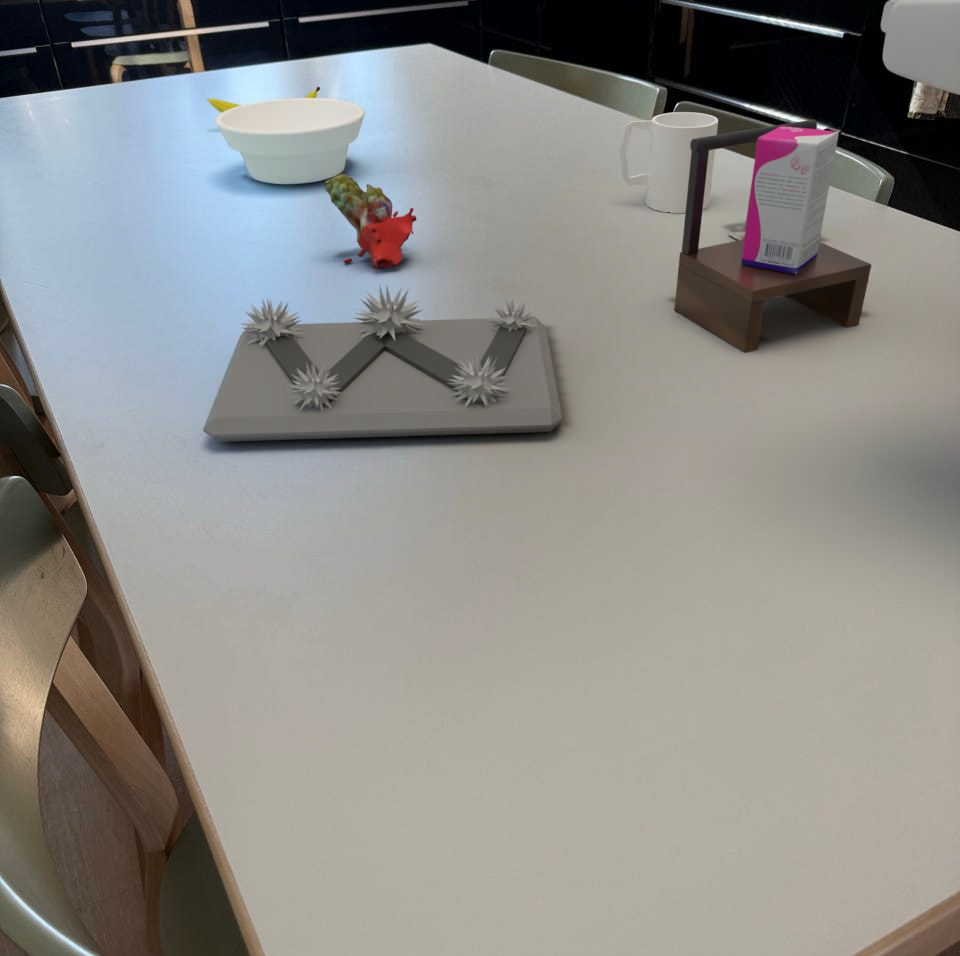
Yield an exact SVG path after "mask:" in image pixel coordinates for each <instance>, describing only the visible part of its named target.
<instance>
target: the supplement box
mask: <svg viewBox="0 0 960 956" xmlns="http://www.w3.org/2000/svg"><path fill="white" fill-rule="evenodd" d="M838 140H839V131H834V130H833V131H832V130H824V129H806V128H797V127H787V126H780V127H778V128H776V129H775V130H773V131H771V132H769V133H767V134H765V135H762V136H760V137H759V138H758V140H757V143H756V148H755V157H754V164H753V169H754V171H753V170H752V177H753V178H752V177H751V183H752V185H751V184H750V190H751V193H750V192H749V198H750V200H749V199H748V205H749V208H748V207H747V211H748V215H747V214H746V218H747V223H746V222H745V225H746V230H745V229H744V232H745V237H744V244H743V252H742V259H741V264H742V265H746V266H752V267H758V268H764V269H769V270H775V271H780V272H785V273H790V274H797V273H798V272H800V271H801V270H802V269H803V268H804V267H806V266H807V265H808V264H809V263H811V262H812V261H813V260H815V259H816V258H817V254H818V248H819V242H820V241H821V236H822V230H823V225H824V223H823V222H824V218H825V213H826V207H827V201H828V195H829V190H830V185H831V179H832V173H833V167H834V161H835V156H836V152H837V151H836V150H837V146H838Z"/></svg>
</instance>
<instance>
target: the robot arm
mask: <svg viewBox="0 0 960 956" xmlns="http://www.w3.org/2000/svg"><path fill="white" fill-rule="evenodd" d="M880 30H881V31H882V32H883V33H885V36H884V43H883V47H882V48H883V50H882V61H883V64H884V66H885V68H886V69H887V70H888V71H889V72H891V73H893V74H894V75H897V76H900V77H902V78H905V79H909V80H911V81H914V82H917V83H920V84H923V85H926V86H929V87H932V88H935V89H938V90H941V91H944V92H948V93H952V94H955V95H958V96H959V95H960V0H887V1H886V2H885V4H884V6H883V11H882V16H881V20H880Z"/></svg>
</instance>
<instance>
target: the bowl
mask: <svg viewBox="0 0 960 956" xmlns="http://www.w3.org/2000/svg"><path fill="white" fill-rule="evenodd" d="M365 114H366V112H365V109H364V108H363V107H362V106H361V105H360V104H357V103H354V102H351V101H347V100H342V99H337V98H326V97H325V98H324V97H316V98H304V97H293V98H292V97H291V98H277V99H269V100H261V101H255V102H251V103H246V104H242V106H238V107H234V108H232V109H229V110H226V111H224V112H222V113H221V112H220V113H219V114H218V115H217V116H216V117H215V120H214V124H215V125H216V127H217V129H218V131H219V132H220V134H221V135H222V137H223V139H224V141H225V142H226V144H227V146H228V147H229V148H230V149H231V150H233V151H236V152H238V153H239V154H240V156H241V158H242V160H243V162H244V164H245V166H246V169H247V171H248V173H249V175H250V177H251V178H253V179H254V180H256V181H259V182H262V183H267V184H275V185H298V184H301V185H302V184H309V183H315V182H320V181H325V180H329V179H332V178H334V177H336V176H339V175H341V173H342V172H344V169H345V166H346V161H347V154H348V149H349V145H350V144H352V143H353V142H355V141H356V140H357V139H358V137H359V134H360V131H361V128H362V124H363V122H364V119H365Z"/></svg>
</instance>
